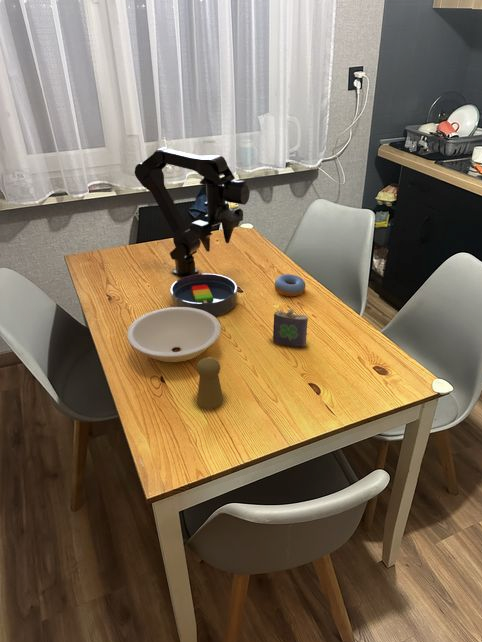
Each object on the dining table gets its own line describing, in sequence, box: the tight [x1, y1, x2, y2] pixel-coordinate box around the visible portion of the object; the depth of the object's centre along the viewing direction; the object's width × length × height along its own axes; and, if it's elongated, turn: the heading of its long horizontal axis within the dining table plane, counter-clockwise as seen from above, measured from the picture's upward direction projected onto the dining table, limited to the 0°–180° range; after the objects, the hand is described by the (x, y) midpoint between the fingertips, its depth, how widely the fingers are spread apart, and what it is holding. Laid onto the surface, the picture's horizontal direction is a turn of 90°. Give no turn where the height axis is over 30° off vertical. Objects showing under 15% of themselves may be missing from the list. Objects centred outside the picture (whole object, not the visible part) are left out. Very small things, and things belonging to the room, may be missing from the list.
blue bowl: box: [169, 273, 238, 318], centre depth 153 cm, size 20×20×5 cm
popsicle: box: [191, 285, 214, 303], centre depth 153 cm, size 6×15×2 cm, turn 17°
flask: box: [272, 308, 309, 349], centre depth 132 cm, size 9×3×11 cm, turn 74°
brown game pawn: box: [196, 357, 224, 410], centre depth 112 cm, size 6×6×11 cm
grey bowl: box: [126, 306, 222, 363], centre depth 130 cm, size 24×24×7 cm
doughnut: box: [274, 273, 306, 297], centre depth 160 cm, size 10×10×5 cm
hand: (217, 247), depth 161 cm, fingers open, 9 cm apart
